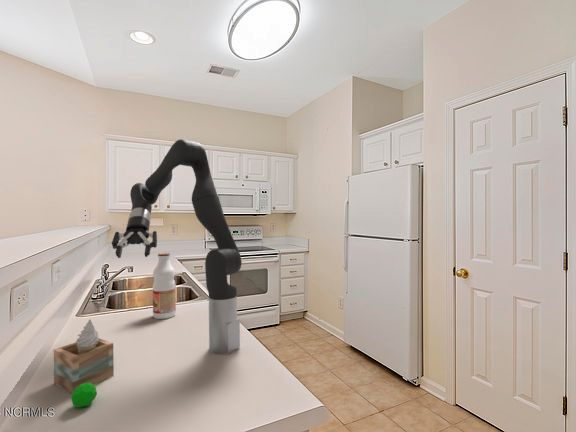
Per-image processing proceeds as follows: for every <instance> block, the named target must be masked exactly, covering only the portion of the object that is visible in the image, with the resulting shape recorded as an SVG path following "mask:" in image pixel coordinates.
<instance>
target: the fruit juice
mask: <svg viewBox="0 0 576 432" xmlns="http://www.w3.org/2000/svg"><path fill="white" fill-rule="evenodd" d="M170 256H171V253H170V252H159V253H158V254H157V257H158V261H157V265H156V267H155V268H154V269H153V272H152V276H153V283H152V316H153V319H157V320H158V319H159V320H164V319H169V318H172V317H174V316H176V314H177V313H176V312H177V308H176V305H177V304H176V300H177V299H176V281H175V276H176V270H175V268H174V267H173V265H172V263H171V261H170Z"/></svg>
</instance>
